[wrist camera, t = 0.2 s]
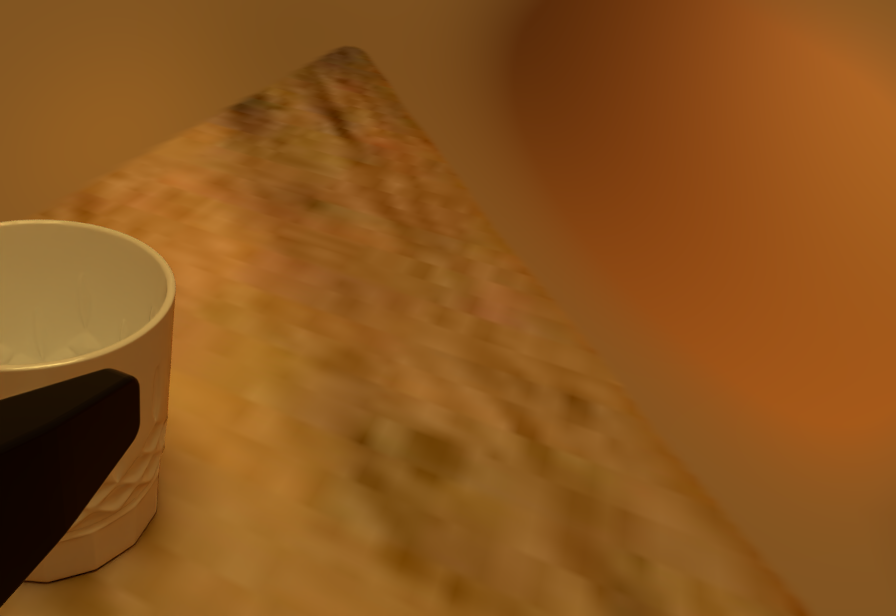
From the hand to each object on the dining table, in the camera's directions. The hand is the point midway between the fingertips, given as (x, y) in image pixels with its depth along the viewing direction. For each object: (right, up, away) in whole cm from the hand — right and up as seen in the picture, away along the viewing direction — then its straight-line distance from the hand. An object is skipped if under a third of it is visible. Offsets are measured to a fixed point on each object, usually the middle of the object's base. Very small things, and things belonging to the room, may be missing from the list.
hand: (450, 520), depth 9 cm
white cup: (-14, -5, +18) cm, 24 cm away
